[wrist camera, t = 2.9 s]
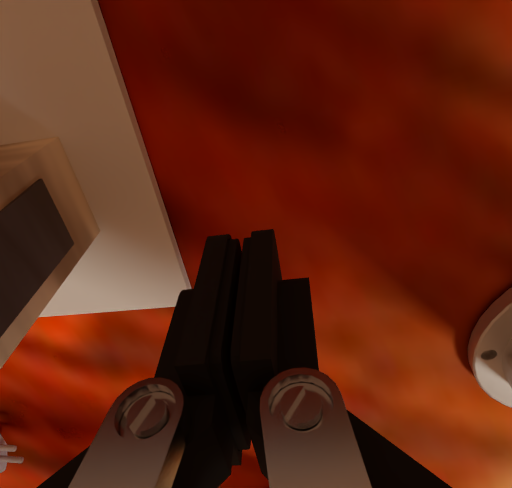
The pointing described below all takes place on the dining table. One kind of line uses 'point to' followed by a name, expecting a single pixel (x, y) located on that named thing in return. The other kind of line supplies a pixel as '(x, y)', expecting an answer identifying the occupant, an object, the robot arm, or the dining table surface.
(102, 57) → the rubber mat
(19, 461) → the charger
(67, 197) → the maple block
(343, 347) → the dining table surface
